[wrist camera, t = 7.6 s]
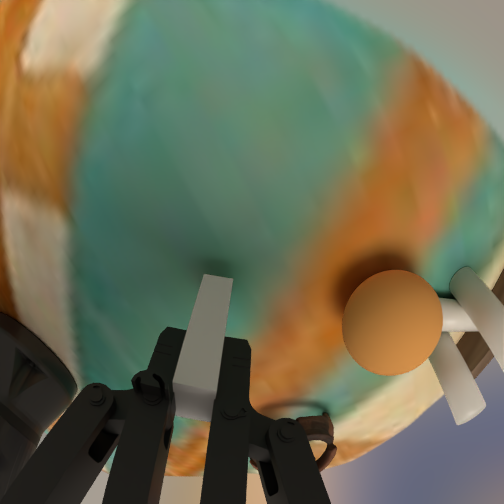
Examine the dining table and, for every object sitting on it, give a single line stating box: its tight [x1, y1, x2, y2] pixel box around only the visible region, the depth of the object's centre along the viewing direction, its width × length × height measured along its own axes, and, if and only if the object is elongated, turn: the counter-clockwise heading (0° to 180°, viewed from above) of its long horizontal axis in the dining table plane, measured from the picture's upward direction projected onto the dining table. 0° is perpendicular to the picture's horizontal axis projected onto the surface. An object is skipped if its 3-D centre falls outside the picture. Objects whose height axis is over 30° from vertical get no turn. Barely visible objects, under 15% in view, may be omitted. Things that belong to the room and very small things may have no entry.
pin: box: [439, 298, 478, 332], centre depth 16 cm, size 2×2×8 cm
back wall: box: [456, 270, 504, 379], centre depth 16 cm, size 2×13×4 cm, turn 170°
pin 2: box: [428, 331, 486, 425], centre depth 15 cm, size 2×2×8 cm
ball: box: [342, 270, 443, 376], centre depth 14 cm, size 6×6×6 cm
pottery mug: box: [250, 413, 337, 472], centre depth 24 cm, size 12×10×8 cm
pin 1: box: [449, 267, 504, 372], centre depth 12 cm, size 2×2×8 cm
